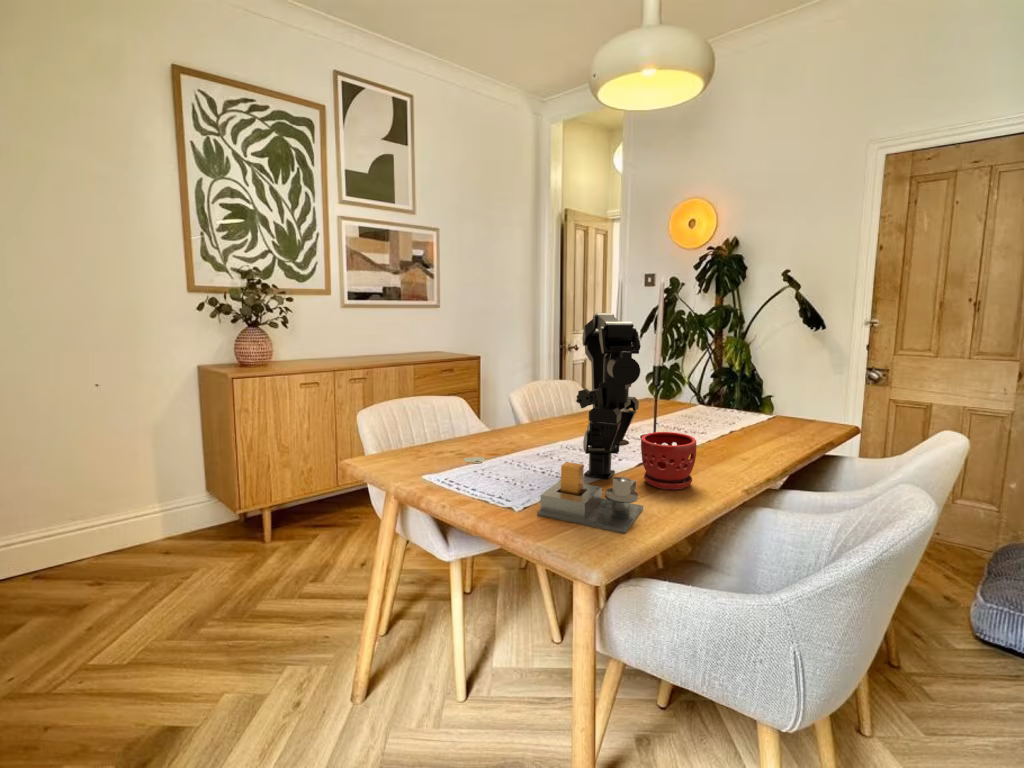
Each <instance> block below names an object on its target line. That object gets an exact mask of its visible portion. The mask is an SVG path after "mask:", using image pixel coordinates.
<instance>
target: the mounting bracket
mask: <svg viewBox="0 0 1024 768" xmlns="http://www.w3.org/2000/svg"><path fill="white" fill-rule="evenodd" d="M463 461H464V462H465V463H466V462H468V463H469V462H470V463H471V462H472V464H477V465H480V464H482V463H483V462H484V461H485V462H486V461H487V460H486V459H485V458H484V457H483V456H473V457H465V458H463Z"/></svg>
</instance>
